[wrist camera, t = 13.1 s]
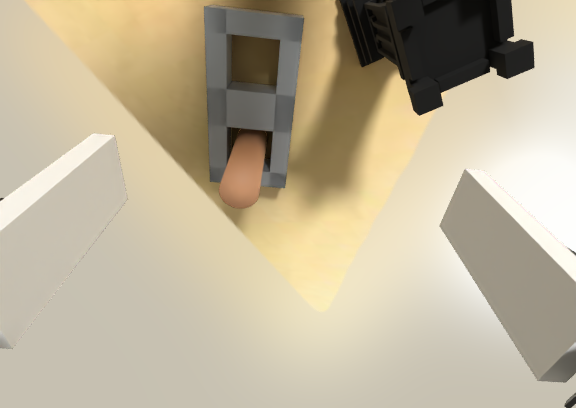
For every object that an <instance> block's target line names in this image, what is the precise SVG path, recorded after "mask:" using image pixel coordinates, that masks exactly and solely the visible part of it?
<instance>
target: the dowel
mask: <svg viewBox="0 0 576 408" xmlns="http://www.w3.org/2000/svg"><path fill="white" fill-rule="evenodd" d="M266 144H267V135H266V132H265V131H264V130H254V129H243V128H241V129H240V130H239V132H238V135H237V138H236V141H235V144H234V146H233V149H232V152H231V155H230V158H229V160H228V163H227V166H226V169H225V172H224V175H223V177H222V180H221V183H220V186H219V194H220V197H221V198H222V200H223V201H224V202H225V203H226V204H228V205H229V206H231V207H234V208H247V207H250V206H252V205H253V204H254V203H255V202H256V201H257V200H258V197H259V192H260V185H261V178H262V171H263V165H264V158H265V151H266Z"/></svg>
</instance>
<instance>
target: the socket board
mask: <svg viewBox="0 0 576 408" xmlns="http://www.w3.org/2000/svg"><path fill="white" fill-rule="evenodd" d="M204 22H205V50H206V79H207V108H208V137H209V166H210V182H220V183H221V180H222V177H223V175H224V172H225V169H226V166H227V163H228V160H229V158H230V155H231V127H233V128H243V129H254V130H264V131H273V139H272V151H271V159H266V158H264V165H263V171H262V178H261V185H260V186H265V187H276V188H285V184H286V175H287V166H288V157H289V148H290V139H291V130H292V121H293V112H294V104H295V95H296V86H297V77H298V68H299V59H300V50H301V41H302V32H303V23H304V17H303V16H302V15H294V14H285V13H277V12H268V11H260V10H251V9H243V8H234V7H226V6H217V5H209V6H204ZM232 35H241V36H250V37H259V38H268V39H277V40H280V51H279V63H278V76H277V86H274V85H265V84H256V83H246V82H237V81H232Z"/></svg>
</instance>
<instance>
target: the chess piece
mask: <svg viewBox="0 0 576 408" xmlns="http://www.w3.org/2000/svg"><path fill="white" fill-rule="evenodd" d="M340 2H341V5H342V8H343V11H344V15H345V18H346V21H347V24H348V27H349V30H350V33H351V36H352V39H353V42H354V45H355V49H356V52H357V55H358V58H359V61H360V64H361V66H362V67H364V66H366V65H369V64H371V63H373V62H375V61H377V60H379V59H382V58H384V57H386V58H387V59H388V60H390V61H391V62H393V63H394V64H395V65H397V66H398V69H399V73H400V76H401V78H402V79H403V80H405V81H406V85H407V89H408V92H409V95H410V98H411V102H412V106H413V110H414V111H415V112H416V113H417V114H418V115H419V116H420V115H422V114H424V113H427V112H429V111H432V110H434V109H436V108H439V107H441V106H443V102H442V97H441V93H442V92H444V91H446V90H449V89H451V88H453V87H455V86H458V85H460V84H463V83H465V82H467V81H470V80H472V79H474V78H477V77H479V76H482V75H484V74H486V73H489V72H490V67H492V68H495V69H497V75H499V76H501V77H504V78H506V79H508V78H511V77H513V76H516V75H518V74H520V73H523V72H525V71H528V70H530V69H532V68H534V49H533V42H531V41H526V40H522V39H521V40H519V41H516V42H511V41H507V39H508V38H511V37H513V36H514V29H513V17H512V4H511V0H340Z"/></svg>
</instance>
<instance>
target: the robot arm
mask: <svg viewBox="0 0 576 408" xmlns="http://www.w3.org/2000/svg"><path fill="white" fill-rule="evenodd" d="M126 201H127V193H126V188H125V183H124V179H123V174H122V169H121V164H120V159H119V154H118V149H117V144H116V139H115V135H106V134H95V133H93V134H92V135H90V136H89V137H88V138H86V139H85V140H83V141H82V142H81V143H79V144H78V145H77V146H75V147H74V148H72V149H71V150H70V151H68V152H67V153H66V154H64V155H63V156H62V157H60V158H59V159H57V160H56V161H55V162H53V163H52V164H51V165H49V166H48V167H46V168H45V169H44V170H42V171H41V172H40V173H38V174H37V175H36V176H34V177H33V178H32V179H30V180H29V181H28V182H26V183H25V184H23V185H22V186H21V187H19V188H18V189H17V190H15V191H14V192H12V193H11V194H10V195H8V196H7V197H6V198H0V348H6V349H13V347H14V346H15V345H16V343H17V342H18V341H19V340H20V338H21V337H22V336H23V334H24V333H25V332H26V330H27V329H28V328H29V327H30V325H31V324H32V323H33V321H34V320H35V319H36V317H37V316H38V315H39V313H40V312H41V311H42V310H43V308H44V307H45V306H46V304H47V303H48V302H49V301H50V299H51V298H52V297H53V295H54V294H55V293H56V292H57V290H58V289H59V288H60V286H61V285H62V284H63V282H64V281H65V280H66V279H67V277H68V276H69V275H70V273H71V272H72V271H73V269H74V268H75V267H76V266H77V264H78V263H79V262H80V260H81V259H82V258H83V256H84V255H85V254H86V253H87V251H88V250H89V249H90V247H91V246H92V245H93V244H94V242H95V241H96V239H97V238H98V237H99V236H100V234H101V233H102V232H103V230H104V229H105V228H106V227H107V225H108V224H109V223H110V221H111V220H112V219H113V218H114V216H115V215H116V213H117V212H118V211H119V210H120V208H121V207H122V206H123V204H124V203H125V202H126ZM440 227H441V229H442V231H443V232H444V234H445V235H446V237H447V239H448V240H449V242H450V243H451V245H452V246H453V248H454V250H455V251H456V253H457V254H458V256H459V257H460V259H461V260H462V262H463V264H464V265H465V267H466V268H467V270H468V272H469V273H470V275H471V276H472V278H473V280H474V281H475V283H476V284H477V286H478V287H479V289H480V291H481V292H482V294H483V295H484V297H485V298H486V300H487V302H488V303H489V305H490V306H491V308H492V309H493V311H494V313H495V314H496V316H497V317H498V319H499V321H500V322H501V324H502V325H503V327H504V328H505V330H506V332H507V333H508V335H509V336H510V338H511V339H512V341H513V342H514V344H515V346H516V347H517V349H518V351H519V352H520V354H521V355H522V357H523V358H524V360H525V362H526V363H527V365H528V366H529V368H530V369H531V371H532V372H533V374H534V376H535V377H536V379H537V381H550V382H567V381H568V380H569V379H570V378H571V377H572V376H573V375H574V374H575V373H576V253H575V252H574V251H572V250H570V249H569V248H567V247H566V246H565V245H564V244H563V243H562V242H560V241H559V240H558V239H557V238H556V237H555V236H554V235H553V234H552V233H551V232H550V231H549V230H547V229H546V228H545V227H544V226H543V225H542V224H541V223H540V222H539V221H538V220H537V219H536V218H535V217H534V216H533V215H531V214H530V213H529V212H528V211H527V210H526V209H525V208H524V207H523V206H522V205H521V204H520V203H519V202H518V201H516V200H515V199H514V198H513V197H512V196H511V195H510V194H509V193H508V192H507V191H506V190H505V189H504V188H502V187H501V186H500V185H499V184H498V183H497V182H496V181H495V180H494V179H493V178H492V177H491V176H490V175H488V174H487V173H486V172H485V171H483V170H473V169H465V170H464V172H463V174H462V177H461V179H460V181H459V183H458V185H457V188H456V190H455V192H454V194H453V197H452V199H451V201H450V203H449V206H448V208H447V210H446V212H445V215H444V217H443V219H442V221H441V223H440ZM575 404H576V393H575V394H574V395H573V396H571V397H570V398H569V399H568V400H567V401H566V403H565V407H566V408H571V407H572V406H574V405H575Z"/></svg>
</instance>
